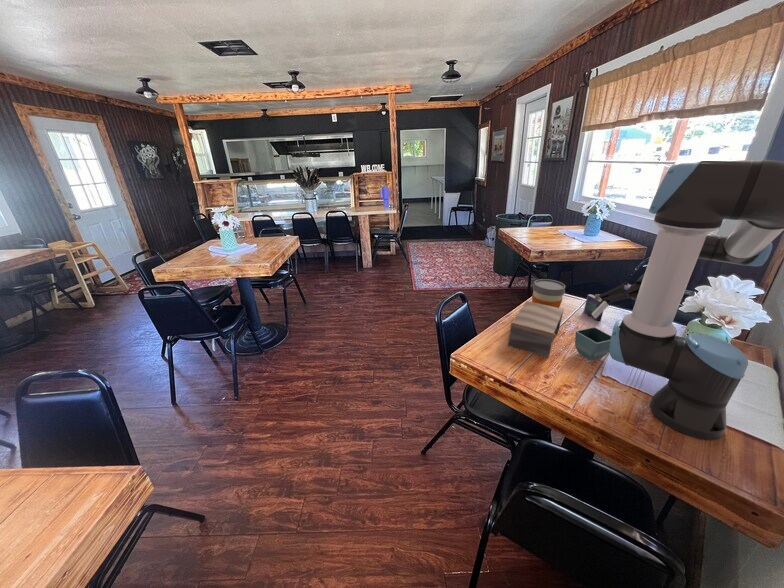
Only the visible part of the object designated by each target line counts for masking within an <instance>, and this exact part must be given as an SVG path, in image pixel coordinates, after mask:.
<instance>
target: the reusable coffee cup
mask: <svg viewBox="0 0 784 588" xmlns="http://www.w3.org/2000/svg"><path fill="white" fill-rule="evenodd" d="M532 291H533V292H532V294H531V302H534V303H539V304H543V305H548V306H552V307H557V308H561V305H562V302H563V296H564V295H565V293H566V284H564V283H563V282H562V281H559V280H555V279H548V278H547V279H545V278H540V279H536V280H535V281H534V283H533V286H532Z"/></svg>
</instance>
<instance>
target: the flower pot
mask: <svg viewBox="0 0 784 588" xmlns="http://www.w3.org/2000/svg"><path fill="white" fill-rule="evenodd" d="M610 339H611V334H608V333H606V332H604V331H603V330H600V329H599V328H597V327H596V326H593V327H587V328H583V329H579V330H575V338H574V345H575V346H574V347H575V349H576V351H577V353H578V354H579V355H580V356H582V357H583V358H585V359H586V360H588V361H589V362H593V361H597V360H600V359H602V358H604V357H605V356H607V355H608V354H610V353H609V347H610Z"/></svg>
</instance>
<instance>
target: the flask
mask: <svg viewBox="0 0 784 588" xmlns="http://www.w3.org/2000/svg"><path fill="white" fill-rule="evenodd" d="M599 295H601V294H599V293H598V294H595V295H594V294H587V296H586V300H585V301H586V302H585V304H584V308H583V312H582V313H583V314H584V315H585V316H588V317H589V318H591V319H592V320H594V321H596V322H598V321H599V322H601V321H602V317H603V314H604V311H603V312H602V313H601V314H600V315H599V316H598V317H597V318H594V317H593V316H592V313H593V312H594V311H595V310H596V309H597V307H596V306H597V305H598V304H599V303H600V302H601V301H602V300H601V298H600V297H599Z"/></svg>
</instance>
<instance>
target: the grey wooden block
mask: <svg viewBox="0 0 784 588" xmlns="http://www.w3.org/2000/svg"><path fill="white" fill-rule="evenodd" d="M563 315H564V308H561V307H559V308H557V307H552V306H548V305H543V304H539V303H534V302H532V301H529V300H526V301H525V303H524V304H523V306H522V307H521V309H520V310H519V312H518V313H517V314H516V316H515V317H514V319H513V320H512V321H511V325H510V331H509V336H508V343H507V346H508V347H510V348H515V349H517V350H521V351H524V352H527V353H531V354H534V355H538V356H541V357H545V358H547V359H548V358H549V357H550V354H551V350H552V345H553V341H554V336H555V335H558V334H559V331H560V327H561V322H562V320H563V319H562V318H563Z"/></svg>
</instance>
